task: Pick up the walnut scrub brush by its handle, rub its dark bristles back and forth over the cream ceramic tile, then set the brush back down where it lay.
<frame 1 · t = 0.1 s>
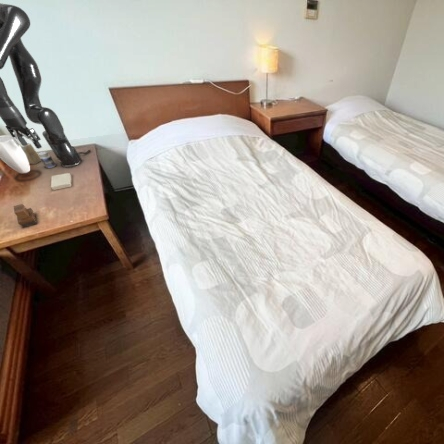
hand: (32, 146, 130), 17 cm above the table, tool pointing down, fingers open, 8 cm apart
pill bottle: (51, 166, 148), on the table
olive brown tapered block: (35, 162, 149), on the table
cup: (28, 175, 139), on the table
brush: (29, 220, 114), on the table
tile: (62, 182, 137), on the table
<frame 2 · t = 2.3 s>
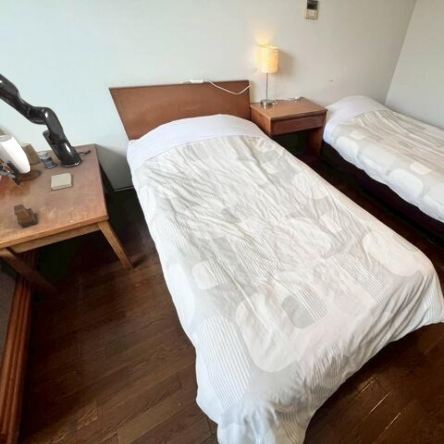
hand: (5, 187, 105), 17 cm above the table, tool pointing down, fingers open, 8 cm apart
nothing on the table moved.
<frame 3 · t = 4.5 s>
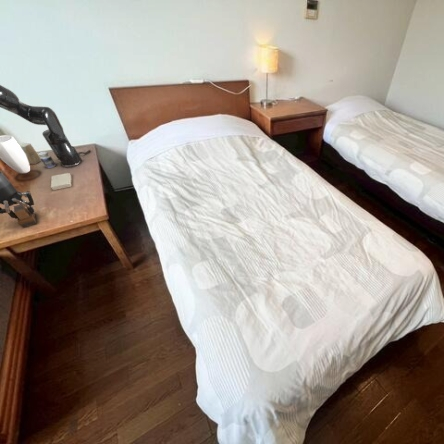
hand: (24, 215, 112), 3 cm above the table, tool pointing down, fingers closed on brush, 5 cm apart
brush: (29, 220, 114), on the table, touching gripper
everything else where it was.
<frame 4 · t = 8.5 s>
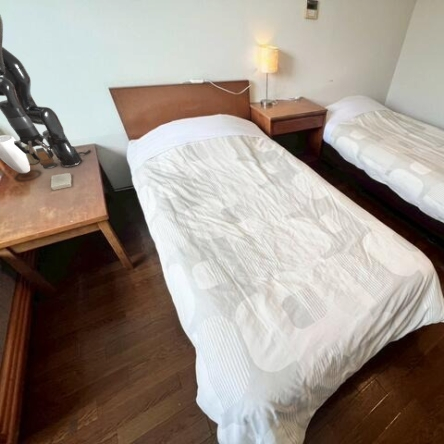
hand: (44, 157, 126), 15 cm above the table, tool pointing down, fingers closed on brush, 5 cm apart
brush: (49, 163, 129), point 12 cm above the table, touching gripper
everything else where it was.
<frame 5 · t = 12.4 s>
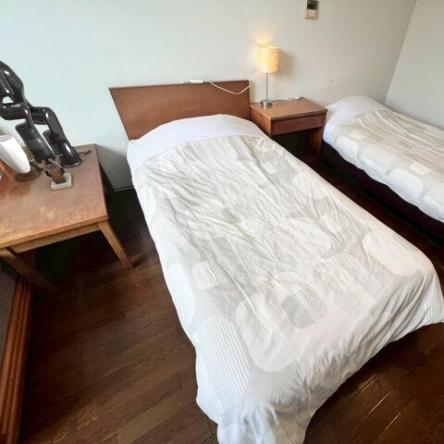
hand: (56, 174, 133), 5 cm above the table, tool pointing down, fingers closed on brush, 5 cm apart
brush: (60, 179, 135), point 2 cm above the table, touching gripper
everything else where it was.
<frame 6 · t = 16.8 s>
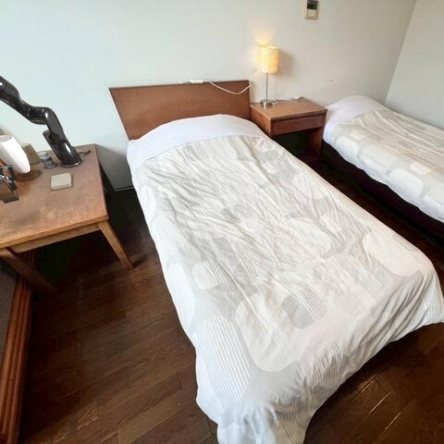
hand: (6, 191, 104), 16 cm above the table, tool pointing down, fingers closed on brush, 5 cm apart
brush: (11, 197, 107), point 13 cm above the table, touching gripper
everything else where it was.
when the fingers open (3 cm above the table, at t = 20.2 s): brush stays where it is, on the table.
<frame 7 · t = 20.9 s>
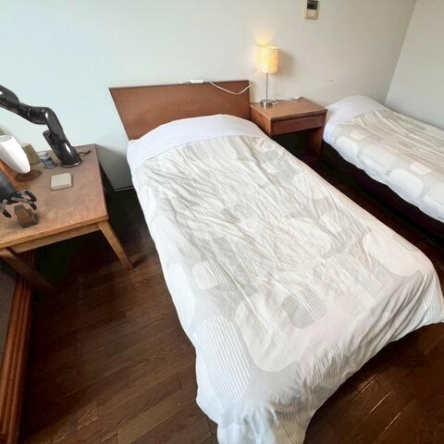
hand: (23, 213, 111), 5 cm above the table, tool pointing down, fingers open, 8 cm apart
brush: (29, 220, 114), on the table
everything else where it was.
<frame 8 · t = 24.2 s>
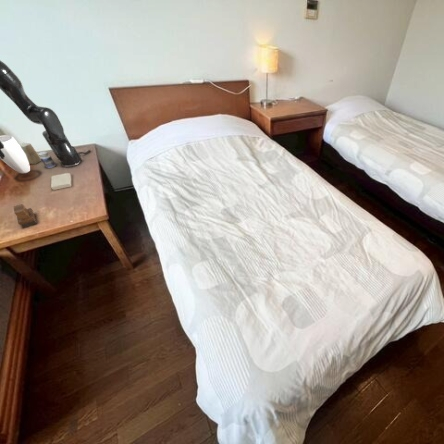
nothing on the table moved.
at the end: tile moved 0.0 cm from its start; brush inside the target area (0.1 cm from its centre), on the table; brush tilted 0° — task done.
